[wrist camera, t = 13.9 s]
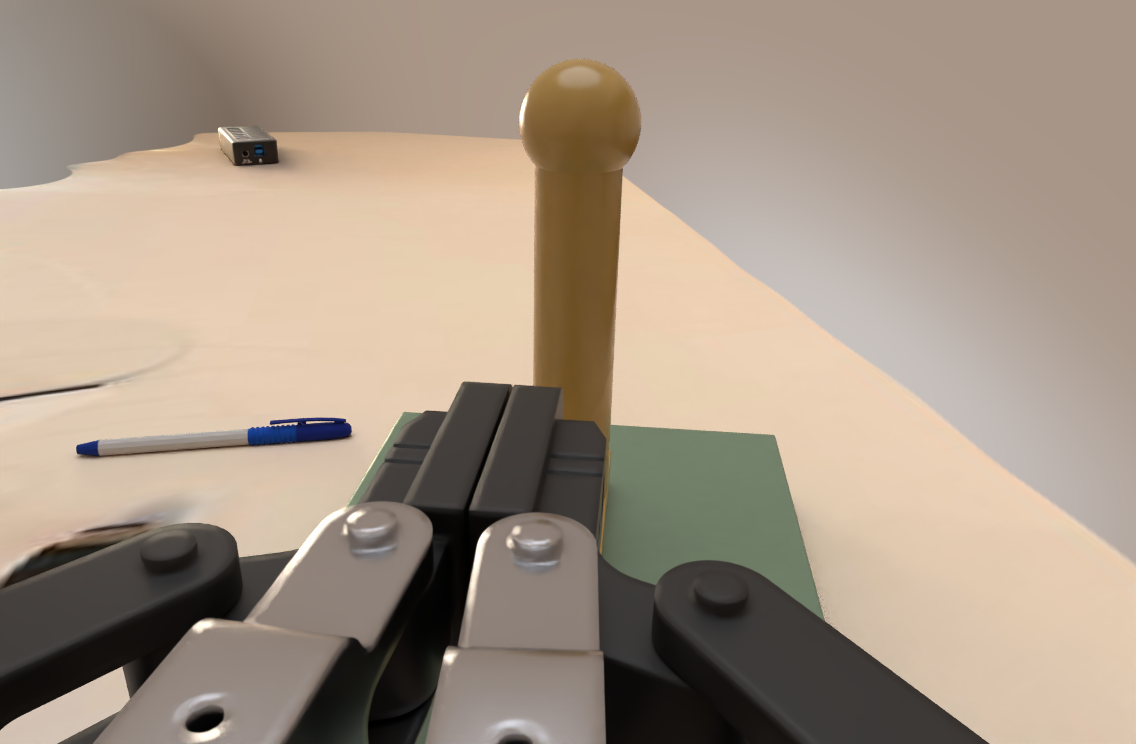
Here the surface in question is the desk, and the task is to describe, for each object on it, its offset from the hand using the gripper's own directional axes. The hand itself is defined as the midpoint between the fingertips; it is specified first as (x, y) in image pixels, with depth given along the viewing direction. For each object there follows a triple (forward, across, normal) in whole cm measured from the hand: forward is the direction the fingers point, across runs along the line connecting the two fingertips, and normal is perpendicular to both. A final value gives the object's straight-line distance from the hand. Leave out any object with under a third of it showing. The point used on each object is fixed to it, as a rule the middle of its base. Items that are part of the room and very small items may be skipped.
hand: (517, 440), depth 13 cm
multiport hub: (+80, -41, -11) cm, 91 cm away
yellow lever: (+8, 0, -8) cm, 11 cm away
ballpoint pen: (+18, -15, -11) cm, 26 cm away
